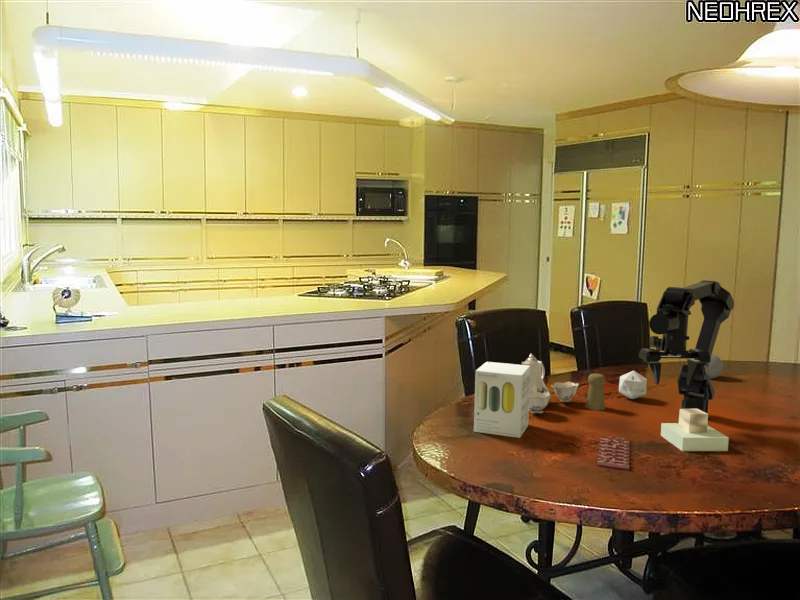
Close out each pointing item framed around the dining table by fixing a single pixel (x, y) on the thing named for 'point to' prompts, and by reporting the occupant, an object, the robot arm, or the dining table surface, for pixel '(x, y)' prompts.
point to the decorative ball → (715, 366)
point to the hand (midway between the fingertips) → (672, 384)
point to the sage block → (694, 438)
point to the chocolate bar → (614, 453)
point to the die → (632, 385)
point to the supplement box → (502, 399)
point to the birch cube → (693, 420)
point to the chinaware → (540, 391)
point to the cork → (596, 392)
